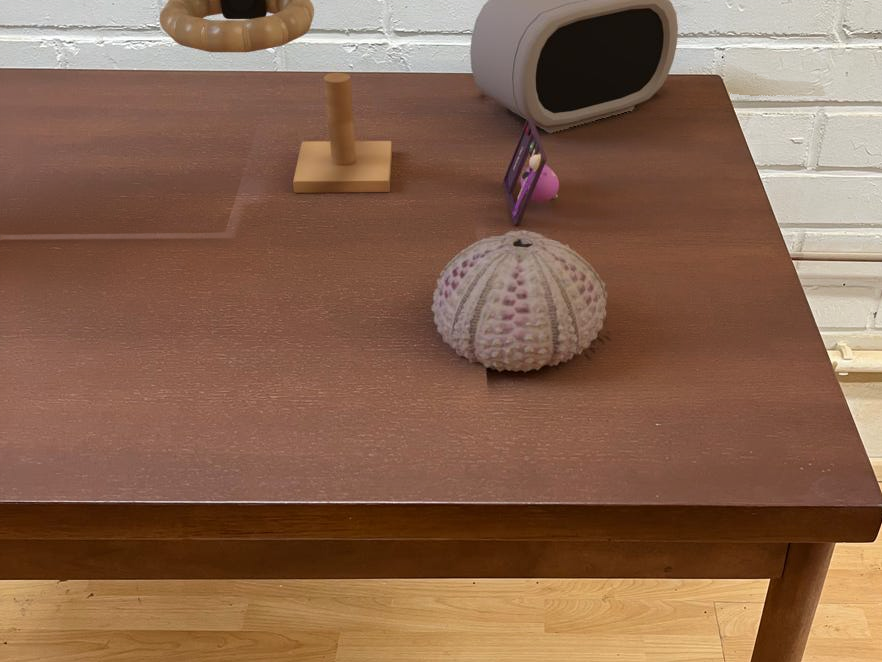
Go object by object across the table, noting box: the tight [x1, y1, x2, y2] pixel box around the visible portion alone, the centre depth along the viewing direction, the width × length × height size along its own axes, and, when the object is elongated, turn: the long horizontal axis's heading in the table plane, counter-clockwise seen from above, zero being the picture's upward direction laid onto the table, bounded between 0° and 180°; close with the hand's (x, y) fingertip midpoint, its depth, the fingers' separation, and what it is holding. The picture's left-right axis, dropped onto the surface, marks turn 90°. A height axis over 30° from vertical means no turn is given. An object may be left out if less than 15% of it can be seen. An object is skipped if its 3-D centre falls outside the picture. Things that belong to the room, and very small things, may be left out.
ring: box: [159, 0, 315, 53], centre depth 72 cm, size 11×11×2 cm
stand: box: [292, 72, 393, 194], centre depth 96 cm, size 9×9×9 cm
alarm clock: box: [469, 0, 679, 134], centre depth 106 cm, size 21×10×13 cm, turn 123°
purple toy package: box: [502, 117, 560, 227], centre depth 92 cm, size 7×5×9 cm
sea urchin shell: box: [430, 229, 609, 373], centre depth 75 cm, size 13×14×8 cm
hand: (248, 9), depth 75 cm, fingers closed on ring, 2 cm apart
